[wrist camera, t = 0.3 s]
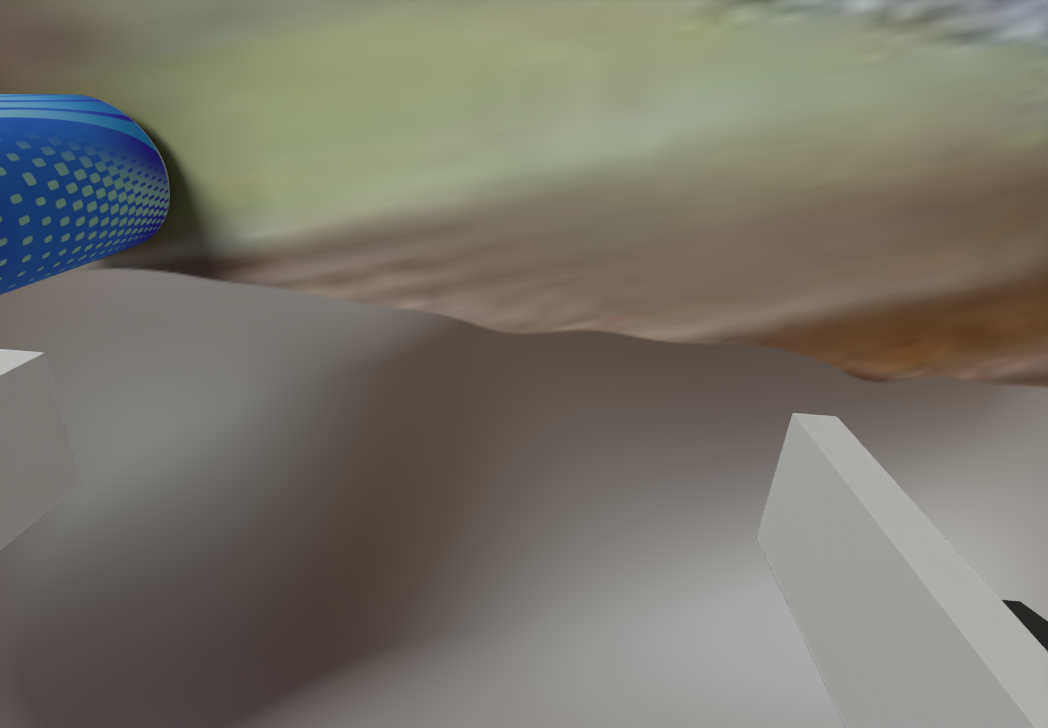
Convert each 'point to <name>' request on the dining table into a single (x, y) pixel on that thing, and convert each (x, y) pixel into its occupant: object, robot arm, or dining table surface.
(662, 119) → the dining table surface
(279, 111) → the dining table surface
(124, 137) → the beer can
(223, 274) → the dining table surface
